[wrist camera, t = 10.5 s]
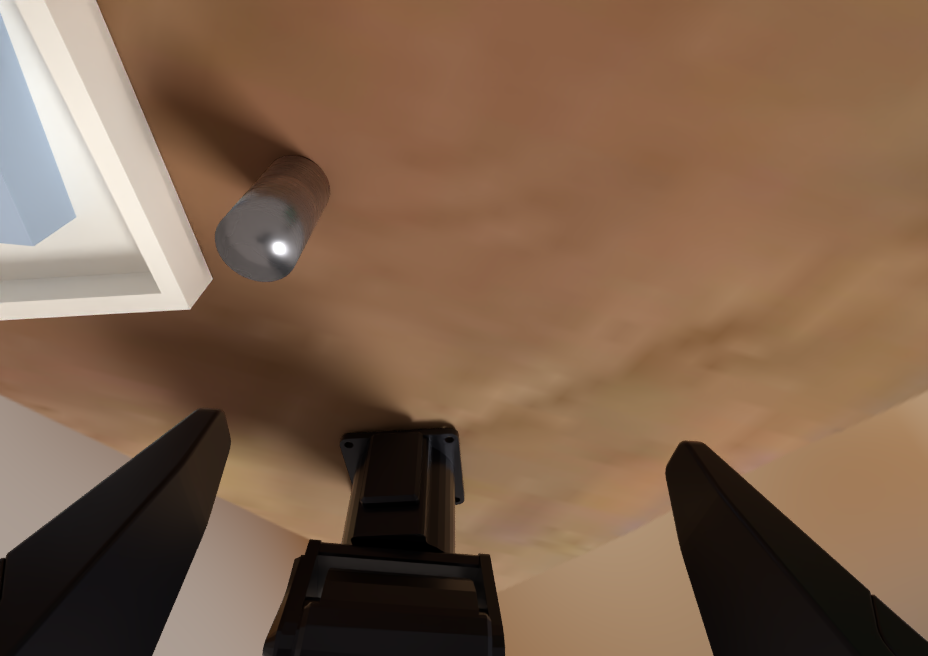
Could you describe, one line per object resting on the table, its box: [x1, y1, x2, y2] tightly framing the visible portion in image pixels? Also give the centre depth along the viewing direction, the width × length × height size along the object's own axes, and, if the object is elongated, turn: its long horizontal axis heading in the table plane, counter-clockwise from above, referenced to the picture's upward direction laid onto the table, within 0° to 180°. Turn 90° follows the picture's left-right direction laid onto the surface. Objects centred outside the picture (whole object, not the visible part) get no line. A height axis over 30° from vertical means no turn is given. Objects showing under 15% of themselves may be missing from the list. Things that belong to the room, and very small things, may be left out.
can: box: [215, 155, 330, 282], centre depth 17 cm, size 2×2×5 cm
